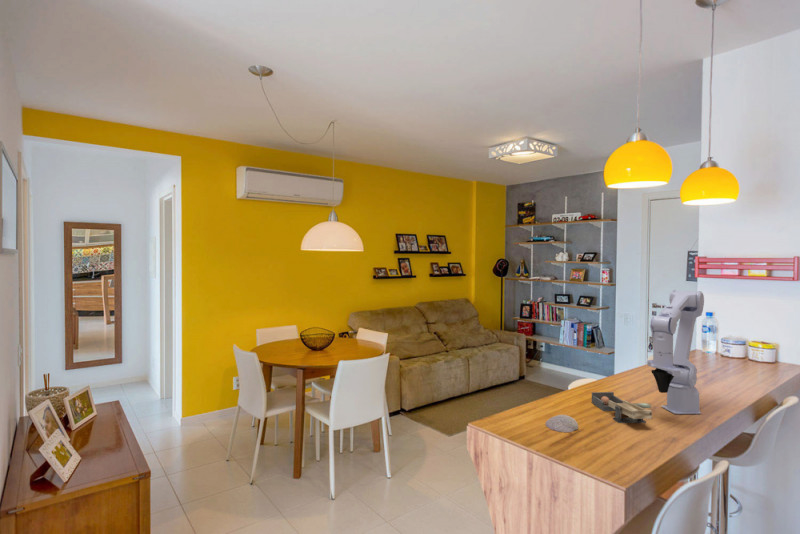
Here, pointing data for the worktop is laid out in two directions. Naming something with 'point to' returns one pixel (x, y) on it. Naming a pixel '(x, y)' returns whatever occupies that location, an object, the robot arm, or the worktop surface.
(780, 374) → the worktop surface
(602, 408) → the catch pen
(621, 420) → the pivot stand
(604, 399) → the ball
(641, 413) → the lever
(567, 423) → the seashell
